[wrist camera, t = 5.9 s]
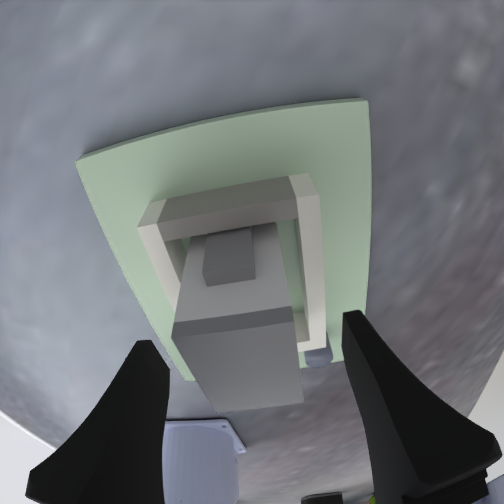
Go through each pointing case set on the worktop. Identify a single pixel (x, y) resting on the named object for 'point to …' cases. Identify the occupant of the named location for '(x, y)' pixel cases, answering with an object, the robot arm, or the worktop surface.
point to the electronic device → (323, 499)
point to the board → (245, 208)
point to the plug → (238, 320)
